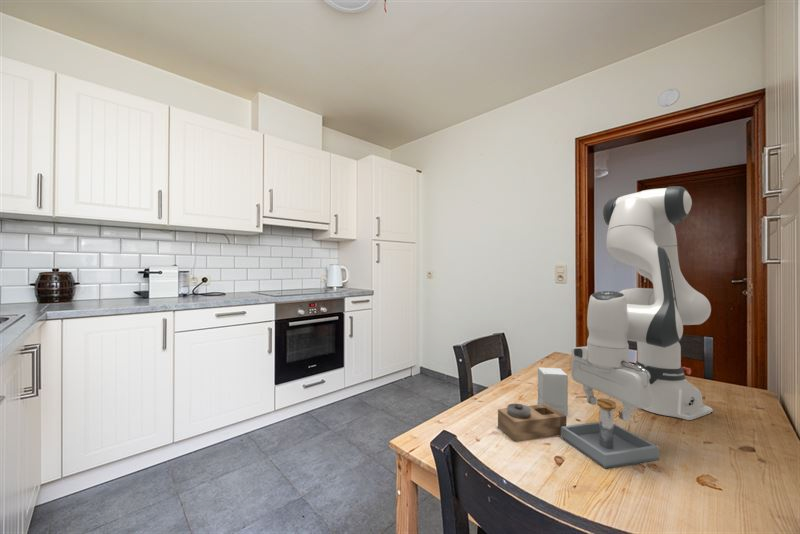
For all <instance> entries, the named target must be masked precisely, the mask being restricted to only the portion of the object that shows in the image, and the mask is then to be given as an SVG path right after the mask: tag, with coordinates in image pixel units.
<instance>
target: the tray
mask: <svg viewBox="0 0 800 534" xmlns="http://www.w3.org/2000/svg"><path fill="white" fill-rule="evenodd" d="M560 438H561V439H562V440H563V441H565V442H566V443H567V444H569V445H570V446H571V447H573V448H575V449H576V450H577V451H579V452H580V453H582V454H583V455H585V456H586V457H587V458H589V459H590V460H591V461H593V462H595V464H597V465H599V466H601V467H602V468H603V469H604V470H605V469H606V470H607V469H613V468H619V467H625V466H629V465H635V464H642V463H649V462H652V461H653V462H654V461H659V460H660V446H659V445H656V444H654V443H652V442H651V441H648V440H647V439H645V438H643V437H641V436H639V435H637V434H635V433H633V432H631V431H629V430H627V429H625V428H623V427H621V426H620V425H618V424H616V423H614V447H613V449H607V448H604V447H602V446H600V444H599V421H595V422H594V421H593V422H588V423H579V424H570V425H566V426H562V427H561V435H560Z"/></svg>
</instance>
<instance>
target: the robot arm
mask: <svg viewBox="0 0 800 534" xmlns="http://www.w3.org/2000/svg"><path fill="white" fill-rule="evenodd" d="M692 205H693V200H692V197H691V195H690V194H689V191H688V190H687V189H686V188H685V187H683V186H677V185H676V186H674V185H673V186H667V187H662V188H661V187H660V188H651V189H645V190H641V191H638V192H633V193H629V194H625V195H622V196H620V195H618V196H615V197H612V198H611V199H609V200H607V201H606V202H605V204H604V205H603V211H602V214H603V220H604V223H605V224H606V225H607V231H606V232H607V233H606V241H605V242H606V250H607V251H608V253H609V255H610V256H611V257H612V258H613V259H615V260H616V261H618V262H620V263H622V264H624V265H626V266H631V267H634V268H635V270H636V272H637V273H638V274H639V275H640V276H642V277H643V278H644V277H645V278H646V279H648V280H649V281H650V282H651V283H652V287H653V288H652V287H651V288H650V287H649V288H646V287H634V288H632V287H631V288H626V289H622V290H621V291H619V292H618V291H614V290H613V291H612V290H605V291H597V292H593V293H592V294H591V295H590V296H589V300H588V306H587V315H586V318H587V319H586V326H587V330H588V337H587V339H586V345H584V346H577V347H572V348H571V355H572V357H571V363H570V374H571V377H572V379H573V381H574V382H576V383H579V384H581V385H582V389H583V391H584V393H585V395H586V403H588V404H590V405H593V406H594V405H597V399H598V397H596V396H595V394H594V390H595V391H597V392H599V393H600V394H603V395H606V396H608V397H610V398H613V399H616V400H618V401H620V402H622V406H623V407H624V409H623V410H620V411H618V418H619V419H620V420H622V421H624V422H630V421H631V414H632V412H633V411H635V409H641V410H645V411H647V412H650V413H653V414H657V415H662V416H666V417H667V416H668V417H673V418H678V419H682V420H687V421H693V420H695V419H698V418H700V417H703V416H706V415H709V414H712V413H713V412H714V411H713V408H712V407H711V406H709V405H706V404H704V403H703V394H702V392H701V391H700V389H698V388H697V387H696V386H695V385H694V384H692V383H691V382H689V380H687V379H686V375H691V373H692V369H691V367H685V366H682V362H681V360H682V355H681V354H682V353H681V351H682V349H681V348H682V346H681V344H680V341H682V337H683V333H684V326H691V325H692V326H694V325H695V326H696V325H701V324H704V323H705V322H706V321H707V320H708V319H709V318H710V316H711V312H712V306H711V303H710V300H709V299H708V298H707V297H706V296H705V295H704V294H702V293H701V292H699V291H698V290H696V289H695V288H694V287H692V286H691V285H690V283H688V281H687V280H686V279H685V277H684V275H683V273H682V271H681V267H680V261H679V253H678V239H677V233H676V228H675V227H676V226H678V224H679V223H680V222H682V221H684V220H685V219H686V217H688V216H689V215H690V212H691V208H692ZM628 341H630V342H636V347H637V348H636V349H637V360H636V362H635V364H633V363H631V362H630V361H629V360H630V352H629V351H630V350H629V349H630V346H629V345H630V344H629V342H628ZM685 374H686V375H685ZM711 412H712V413H711Z"/></svg>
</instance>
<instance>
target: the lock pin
mask: <svg viewBox="0 0 800 534" xmlns="http://www.w3.org/2000/svg"><path fill="white" fill-rule="evenodd" d="M596 405H597V406H599V407H598V409H599V412H598V413H599V415H598V416H599V419H598V420H599V421H598V422H599V444H600V446H602V447H604V448H607V449H613V447H614V424H615V423H614V422H615V420H614V415H615V414H614V413H615V412H614V410H615V409H616V408H617V403H616V401H614V400H613V399H608V398H597V404H596Z"/></svg>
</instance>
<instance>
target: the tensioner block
mask: <svg viewBox="0 0 800 534" xmlns="http://www.w3.org/2000/svg"><path fill="white" fill-rule="evenodd" d="M562 426H567V416H566V415H564V414H562V413H561V412H559V411H557V410H555V409H554V408H552V407H550V406H549V405H547V404H542V405H538V404H535V405H526V404H525V405H524V404H521V403H510V404H508V405H507V407H506V408H498V409H497V427H498V428H499V429H500V430H501V431H502V432H503V433H504V434H505V435H506V436H507V437H509V438H510V439H511V440H512V441H513V442H515V443H516V442H521V441H530V440H537V439H543V438H550V437H551V438H552V437H559V436H560V437H561V427H562Z"/></svg>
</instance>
